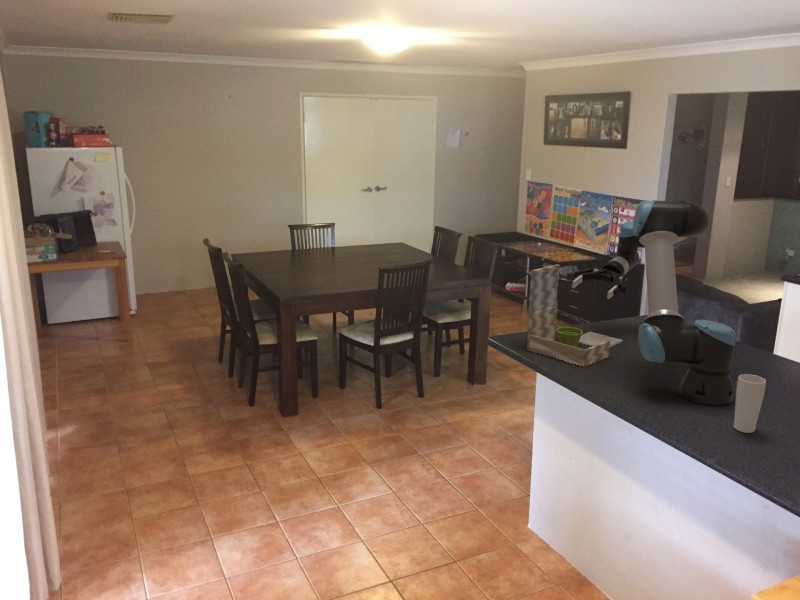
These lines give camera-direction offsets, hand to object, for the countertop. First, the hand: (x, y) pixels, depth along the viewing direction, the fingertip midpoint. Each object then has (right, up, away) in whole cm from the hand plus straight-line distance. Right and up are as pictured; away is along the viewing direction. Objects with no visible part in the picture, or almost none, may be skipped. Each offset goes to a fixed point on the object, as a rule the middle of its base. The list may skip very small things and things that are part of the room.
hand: (590, 290), depth 237 cm
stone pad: (+7, -20, +16) cm, 26 cm away
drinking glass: (+26, -39, -57) cm, 74 cm away
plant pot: (-8, -23, +3) cm, 25 cm away
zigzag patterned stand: (-8, -23, +2) cm, 24 cm away
